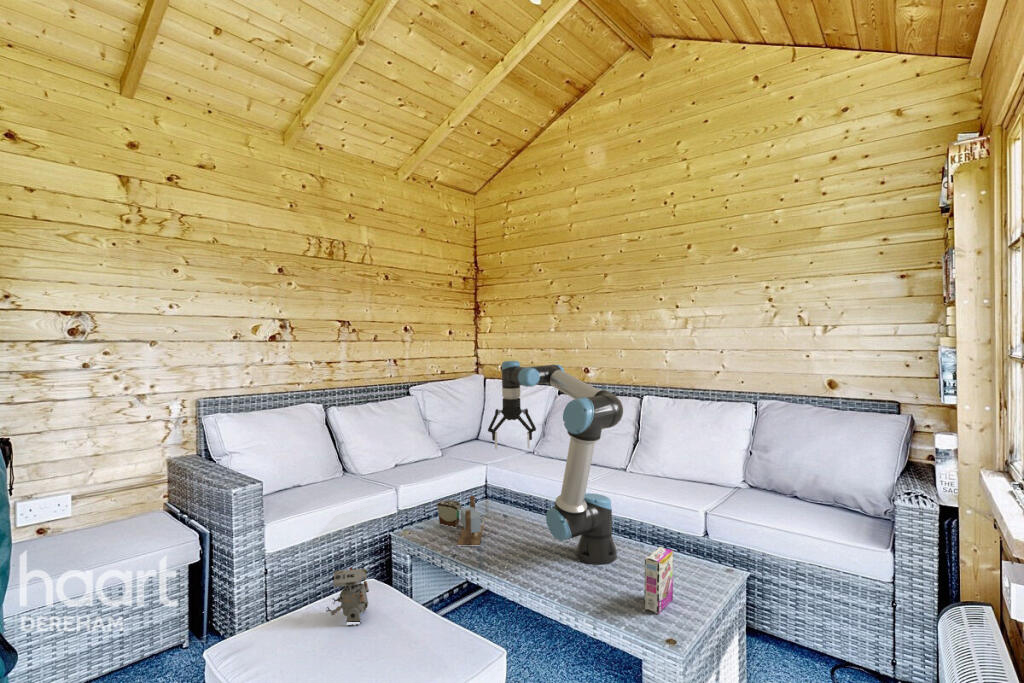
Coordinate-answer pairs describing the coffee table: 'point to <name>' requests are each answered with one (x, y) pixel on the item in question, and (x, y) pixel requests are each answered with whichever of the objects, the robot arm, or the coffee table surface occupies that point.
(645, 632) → the coffee table surface
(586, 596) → the coffee table surface
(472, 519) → the shelf board
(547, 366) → the robot arm
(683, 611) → the coffee table surface
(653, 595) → the candy bar box
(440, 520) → the food container
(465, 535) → the peg stand
